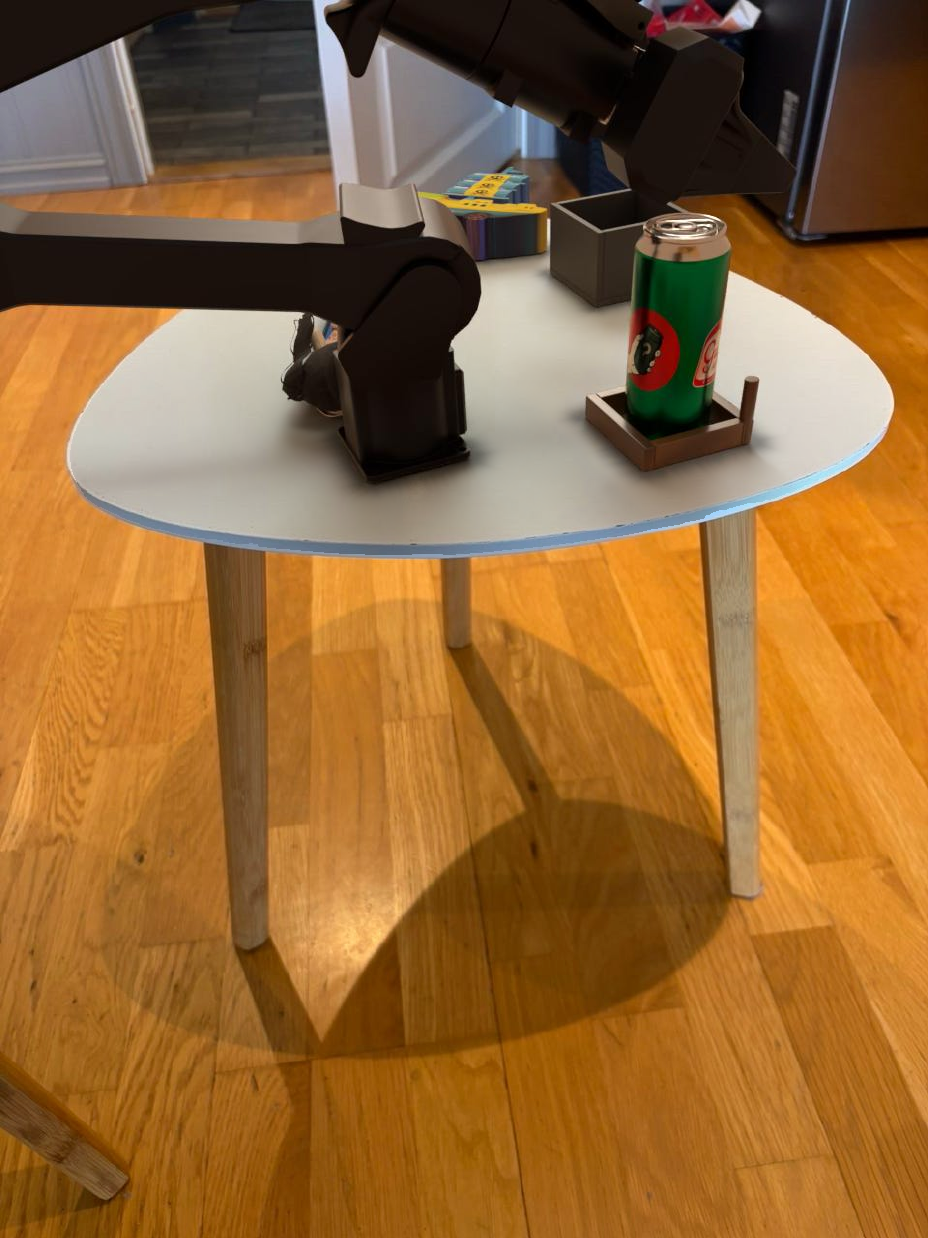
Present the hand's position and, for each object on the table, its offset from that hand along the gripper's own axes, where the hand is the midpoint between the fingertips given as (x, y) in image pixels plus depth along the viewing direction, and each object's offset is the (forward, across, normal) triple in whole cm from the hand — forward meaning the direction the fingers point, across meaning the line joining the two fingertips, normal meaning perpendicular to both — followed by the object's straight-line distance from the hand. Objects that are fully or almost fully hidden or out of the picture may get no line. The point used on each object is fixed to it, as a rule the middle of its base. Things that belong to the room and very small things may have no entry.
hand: (752, 158), depth 49 cm
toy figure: (-13, +12, +23) cm, 29 cm away
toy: (-5, +32, +17) cm, 36 cm away
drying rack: (+3, -1, +15) cm, 15 cm away
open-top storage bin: (+7, +22, +12) cm, 26 cm away
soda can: (+4, -1, +15) cm, 15 cm away
